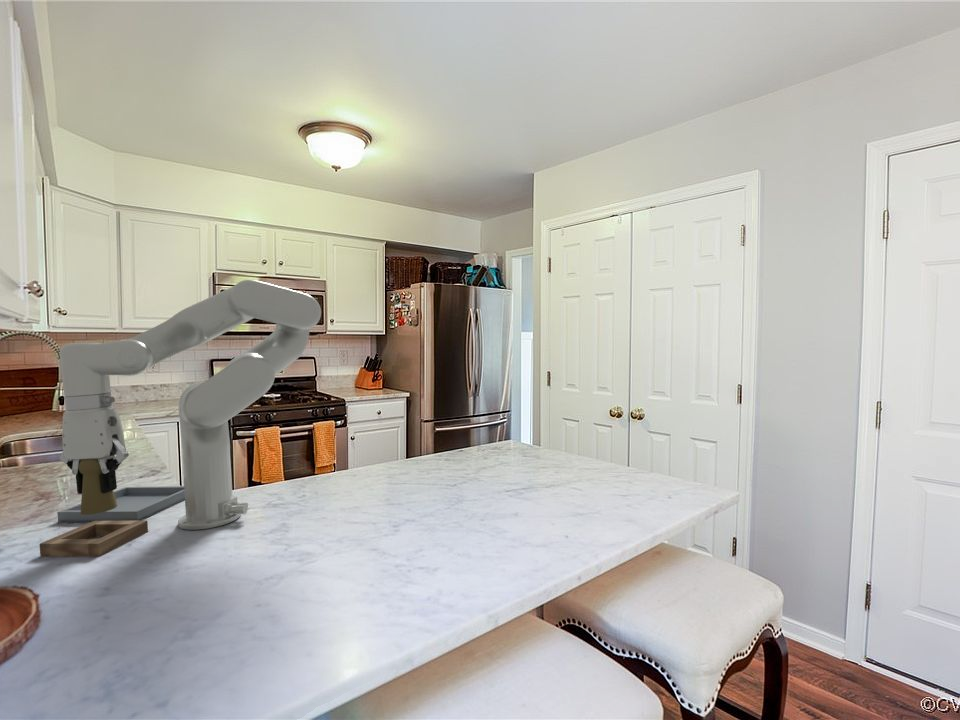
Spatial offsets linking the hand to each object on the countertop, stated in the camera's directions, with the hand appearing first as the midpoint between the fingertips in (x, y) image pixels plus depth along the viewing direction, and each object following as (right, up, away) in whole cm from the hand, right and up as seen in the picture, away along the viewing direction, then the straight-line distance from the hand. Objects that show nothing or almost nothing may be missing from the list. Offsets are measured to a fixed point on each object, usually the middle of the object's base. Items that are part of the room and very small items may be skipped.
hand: (97, 490), depth 102 cm
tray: (-9, -10, +23) cm, 27 cm away
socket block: (0, -11, 0) cm, 11 cm away
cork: (0, -4, 0) cm, 4 cm away
